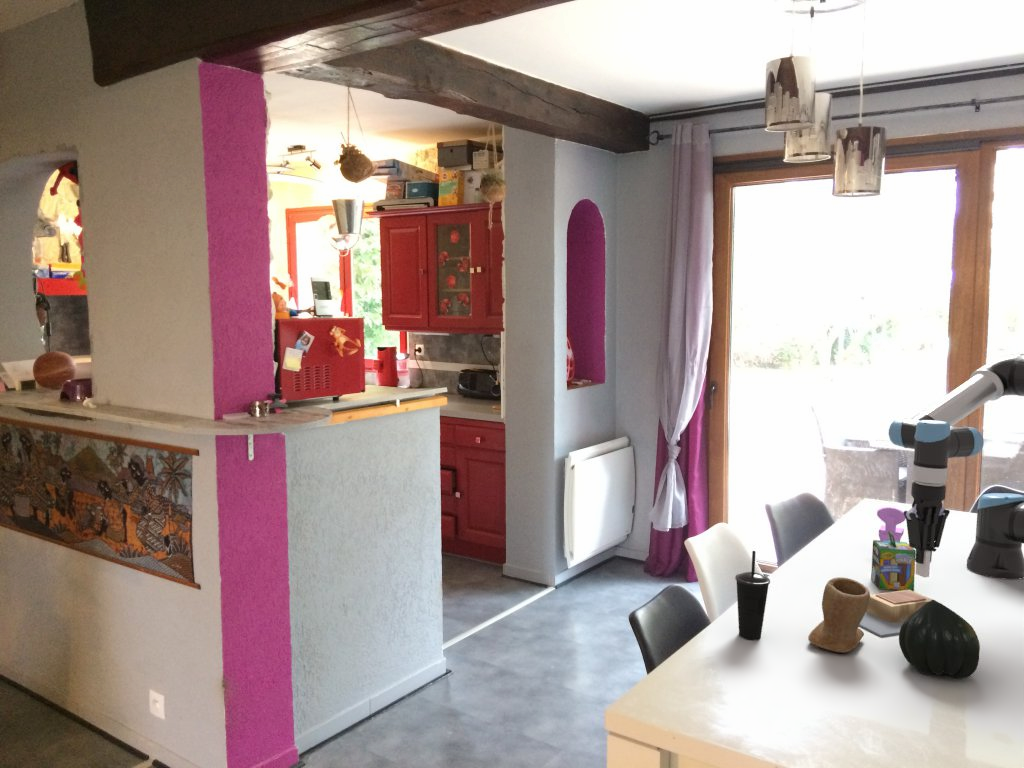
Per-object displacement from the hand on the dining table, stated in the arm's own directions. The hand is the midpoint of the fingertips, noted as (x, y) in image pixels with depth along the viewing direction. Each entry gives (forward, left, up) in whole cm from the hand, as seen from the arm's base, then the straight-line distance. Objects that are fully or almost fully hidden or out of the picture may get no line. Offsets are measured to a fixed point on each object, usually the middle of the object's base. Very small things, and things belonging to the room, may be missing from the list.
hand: (922, 575), depth 199 cm
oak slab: (0, 0, -7) cm, 7 cm away
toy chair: (-33, -42, -10) cm, 55 cm away
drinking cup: (+51, -1, -10) cm, 52 cm away
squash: (+24, +26, -10) cm, 37 cm away
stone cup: (+34, +9, -10) cm, 36 cm away
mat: (+12, 0, -10) cm, 15 cm away
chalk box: (-9, -18, -10) cm, 23 cm away
